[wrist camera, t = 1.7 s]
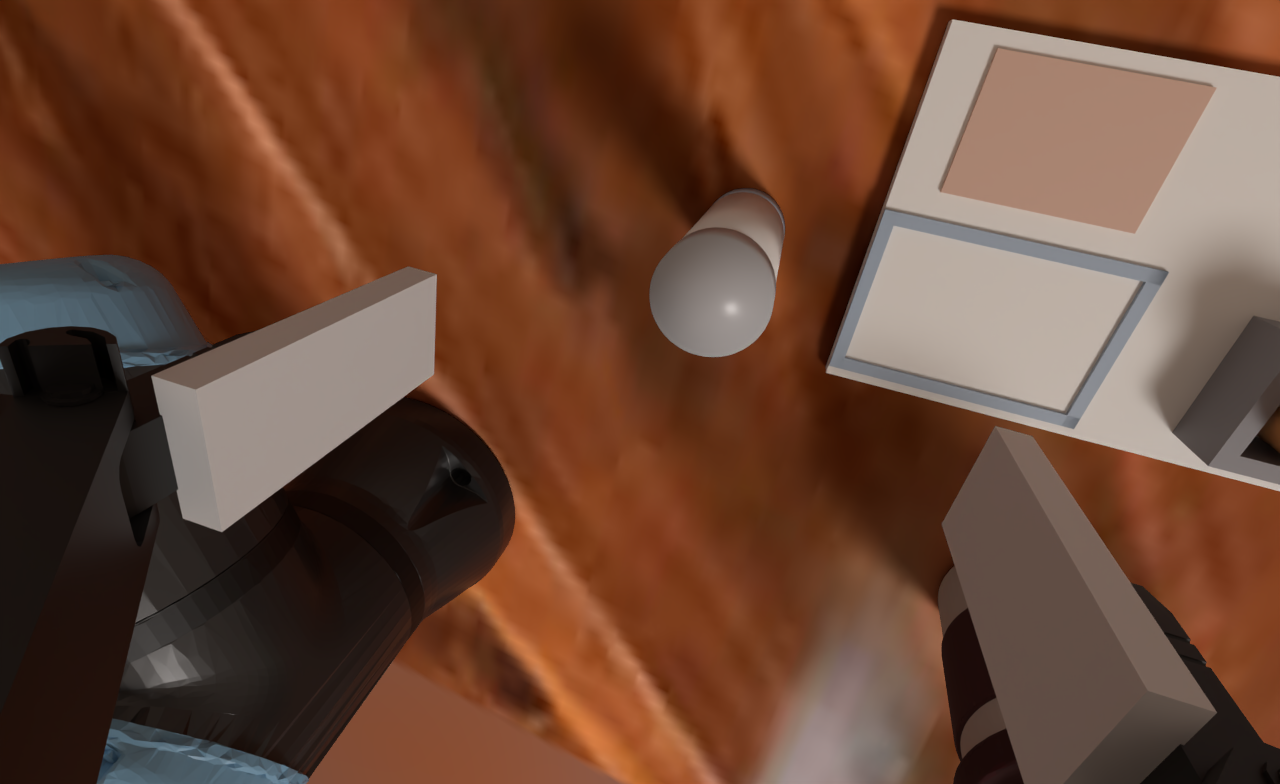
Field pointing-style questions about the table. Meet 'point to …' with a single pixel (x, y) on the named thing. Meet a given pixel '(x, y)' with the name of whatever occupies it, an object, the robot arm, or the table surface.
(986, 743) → the coffee cup
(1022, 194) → the sheet board
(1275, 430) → the button
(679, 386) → the table surface
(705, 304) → the cylinder
